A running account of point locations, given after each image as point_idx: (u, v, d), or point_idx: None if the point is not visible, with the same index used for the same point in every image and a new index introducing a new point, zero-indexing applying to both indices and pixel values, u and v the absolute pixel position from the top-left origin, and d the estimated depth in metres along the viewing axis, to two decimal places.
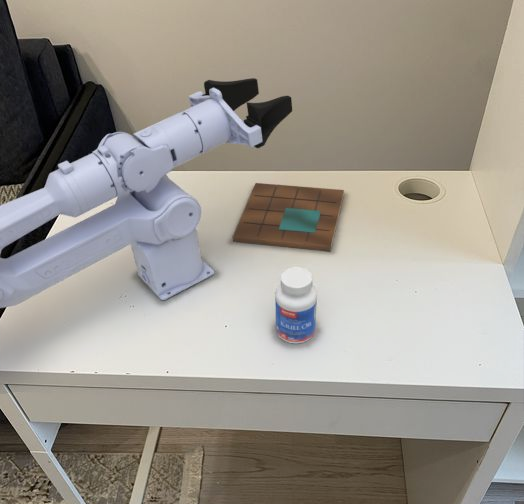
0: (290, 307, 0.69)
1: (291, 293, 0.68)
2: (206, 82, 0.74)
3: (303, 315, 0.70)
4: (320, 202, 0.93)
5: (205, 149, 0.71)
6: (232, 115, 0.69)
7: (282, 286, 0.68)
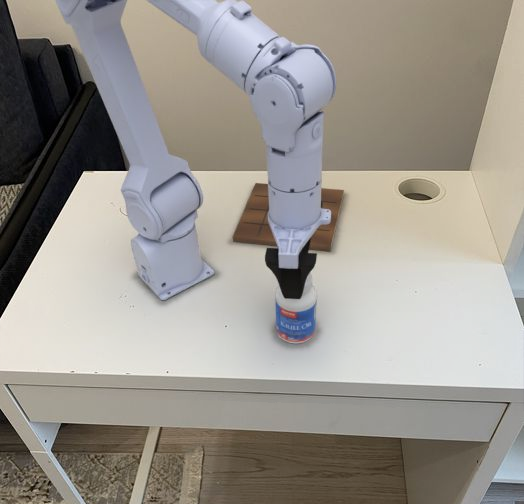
0: (290, 307, 0.69)
1: None
2: (321, 203, 0.66)
3: (303, 315, 0.70)
4: None
5: (278, 194, 0.57)
6: (309, 235, 0.58)
7: None
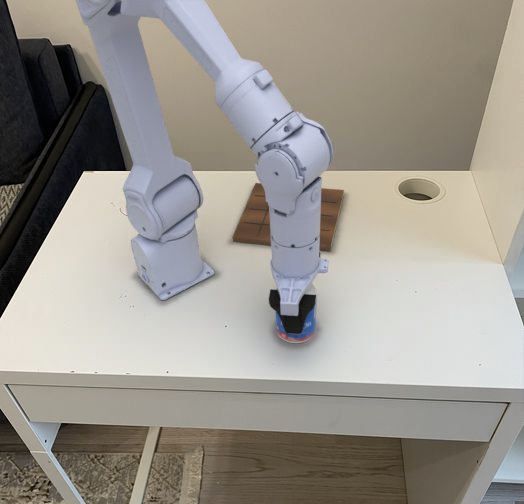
0: None
1: None
2: (319, 253, 0.70)
3: None
4: None
5: (280, 248, 0.62)
6: (308, 284, 0.64)
7: None
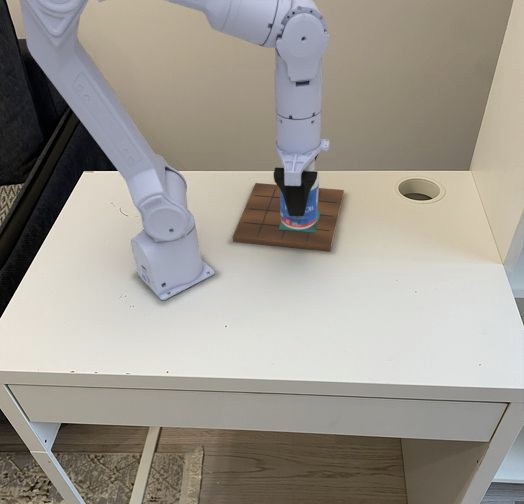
0: None
1: None
2: None
3: None
4: (320, 202, 0.93)
5: (284, 121, 0.67)
6: (310, 158, 0.69)
7: None
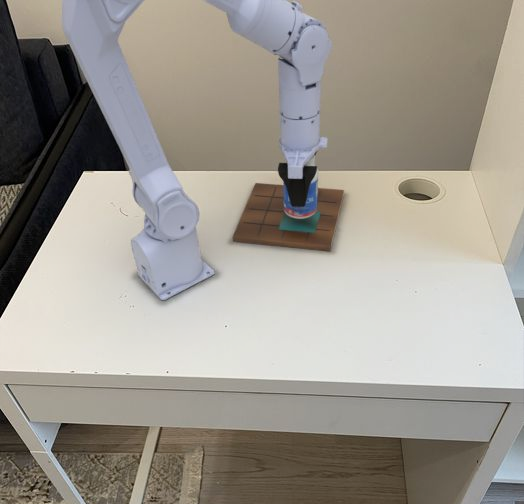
0: None
1: None
2: None
3: None
4: (320, 202, 0.93)
5: (287, 121, 0.75)
6: (311, 154, 0.77)
7: None
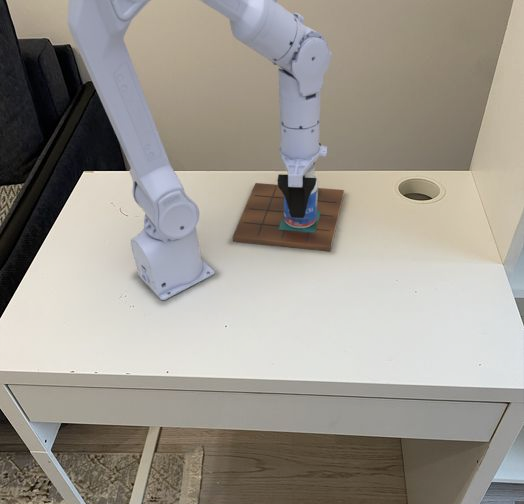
0: None
1: None
2: (320, 144, 0.85)
3: None
4: (320, 202, 0.93)
5: (288, 131, 0.76)
6: (310, 163, 0.78)
7: None
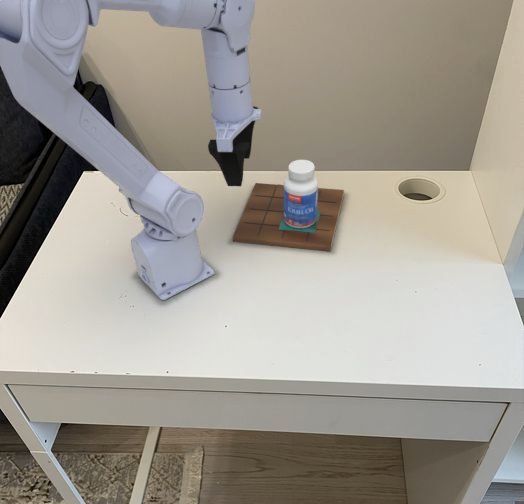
0: (296, 191, 0.83)
1: (297, 179, 0.82)
2: (257, 109, 0.81)
3: (307, 199, 0.84)
4: (320, 202, 0.93)
5: (215, 92, 0.72)
6: (242, 126, 0.74)
7: (289, 174, 0.83)
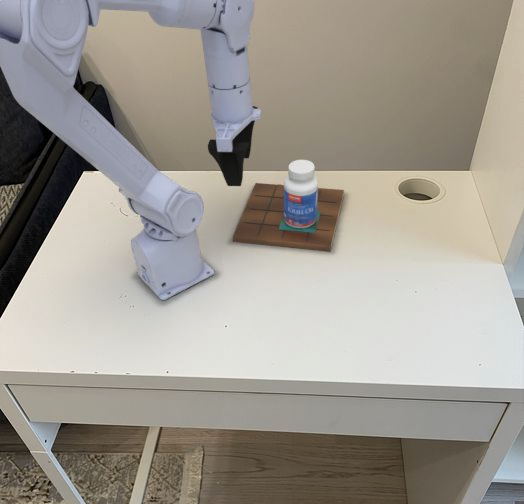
0: (296, 191, 0.83)
1: (297, 179, 0.82)
2: (257, 109, 0.81)
3: (307, 199, 0.84)
4: (320, 202, 0.93)
5: (215, 92, 0.73)
6: (241, 126, 0.74)
7: (289, 174, 0.83)
